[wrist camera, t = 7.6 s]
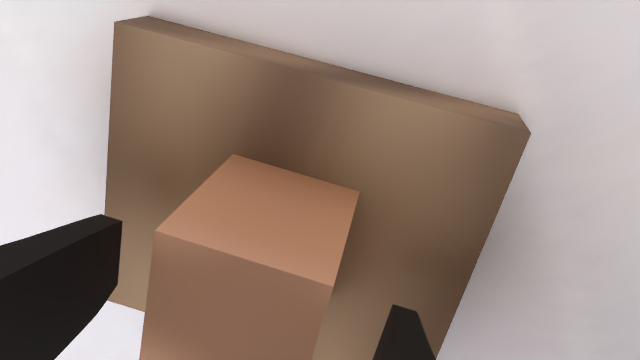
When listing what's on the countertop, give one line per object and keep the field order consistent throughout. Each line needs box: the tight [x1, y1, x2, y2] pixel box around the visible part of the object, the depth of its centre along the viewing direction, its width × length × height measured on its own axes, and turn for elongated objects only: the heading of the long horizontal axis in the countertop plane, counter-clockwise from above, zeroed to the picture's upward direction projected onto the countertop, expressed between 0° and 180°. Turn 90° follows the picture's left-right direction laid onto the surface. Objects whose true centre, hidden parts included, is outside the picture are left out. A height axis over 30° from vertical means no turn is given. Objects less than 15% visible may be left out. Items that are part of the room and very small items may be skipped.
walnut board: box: [105, 16, 531, 360], centre depth 17 cm, size 12×10×2 cm
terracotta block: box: [139, 154, 360, 360], centre depth 14 cm, size 4×4×5 cm
